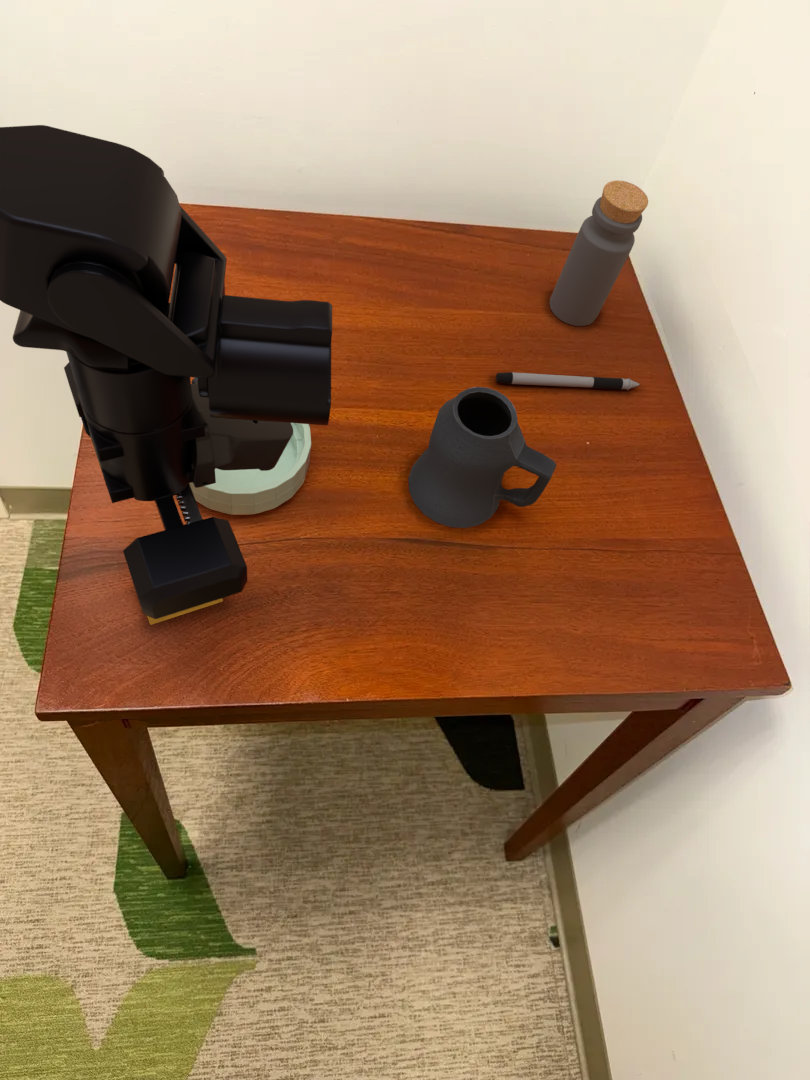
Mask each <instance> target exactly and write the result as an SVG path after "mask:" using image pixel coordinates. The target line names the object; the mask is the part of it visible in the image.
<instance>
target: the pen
mask: <svg viewBox="0 0 810 1080" xmlns="http://www.w3.org/2000/svg"><path fill="white" fill-rule="evenodd" d="M495 382H496V383H502V384H506V385H524V386H525V385H526V386H544V387H545V386H548V387H550V386H551V387H569V388H591V389H609V390H626V391H629V390H630V389H634V388H637V387H639V386H640V383H639V382H636V381H635V380H632V379H631V378H629V377H628V378H623V377H604V376H603V377H602V376H579V375H564V374H563V375H562V374H547V373H546V374H545V373H529V372H513V371H509V372H496V374H495Z"/></svg>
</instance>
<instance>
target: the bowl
mask: <svg viewBox="0 0 810 1080" xmlns="http://www.w3.org/2000/svg"><path fill="white" fill-rule="evenodd" d="M291 425H292V427H293V435H292V437H291V439H290V440H289V442H288V444H287V446H286V448H285V449H284V451H283V453H282V455H281V457H280V459H279V460H278V462H277V464H276V466H275V467H274V468H273V469H271V470H267V471H261V470H259V469H247V470H220V469H217V468H216V469H215V478H216V483H214V484H210V485H206V486H203V487H199V488H195V486H194V484H193V482H192V483H189V484H190V487H191V489H192V492H193V495H194V497H195V500H196V502H197V504H198V503H199V504H200V505H202V506H203V507H205V508H207V509H210V510H212V511H216V512H219V513H224V514H227V515H232V516H234V515H237V516H238V515H239V516H240V515H257V514H260V513H264V512H267V511H270V510H274V509H276V508H278V507H280V506H281V505H283V504H284V503H286V502H287V501H289V500H290V499H292V498H293V497H294V496H295V494H296V493H297V491H298V490H300V488H301V487H302V485H303V484H304V483H305V480H306V477H307V474H308V472H309V468H310V463H311V461H310V460H311V451H312V436H311V435H312V434H311V426H310V424H299V423H291Z"/></svg>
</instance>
